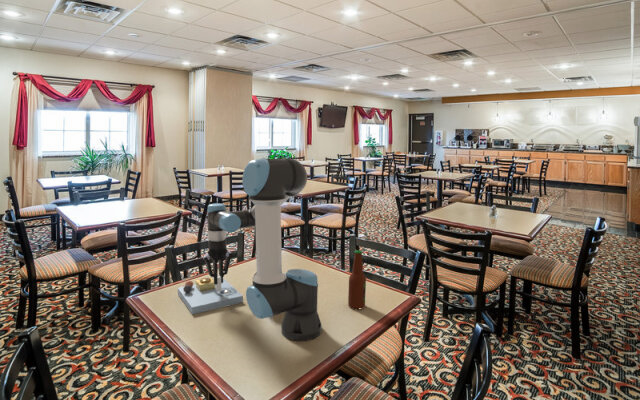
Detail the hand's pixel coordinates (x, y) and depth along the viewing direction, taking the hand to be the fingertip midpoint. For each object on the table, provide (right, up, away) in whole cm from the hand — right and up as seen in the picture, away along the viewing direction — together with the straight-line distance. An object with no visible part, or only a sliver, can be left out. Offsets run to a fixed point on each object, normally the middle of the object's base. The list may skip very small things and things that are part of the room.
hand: (218, 290), depth 165 cm
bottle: (+61, -6, -4) cm, 61 cm away
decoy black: (-14, -1, 0) cm, 14 cm away
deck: (-5, -4, +2) cm, 7 cm away
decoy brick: (-15, 0, +6) cm, 16 cm away
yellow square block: (-8, 0, +7) cm, 10 cm away
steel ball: (+2, -3, +2) cm, 4 cm away
